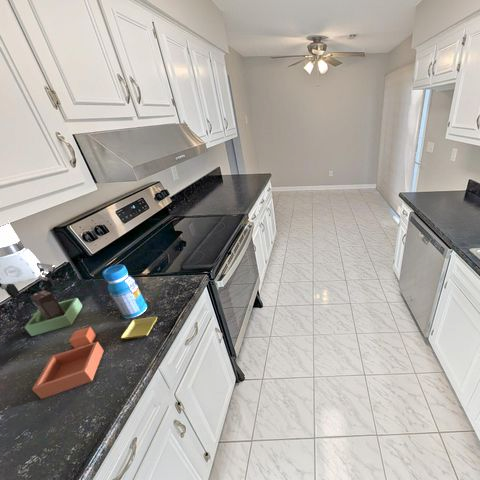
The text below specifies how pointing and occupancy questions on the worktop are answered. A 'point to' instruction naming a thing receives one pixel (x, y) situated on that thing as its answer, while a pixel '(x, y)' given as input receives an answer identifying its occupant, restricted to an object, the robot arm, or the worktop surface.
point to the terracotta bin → (69, 370)
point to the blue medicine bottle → (124, 291)
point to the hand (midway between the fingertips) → (34, 291)
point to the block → (82, 337)
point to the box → (47, 305)
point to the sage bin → (42, 325)
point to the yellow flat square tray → (139, 328)
